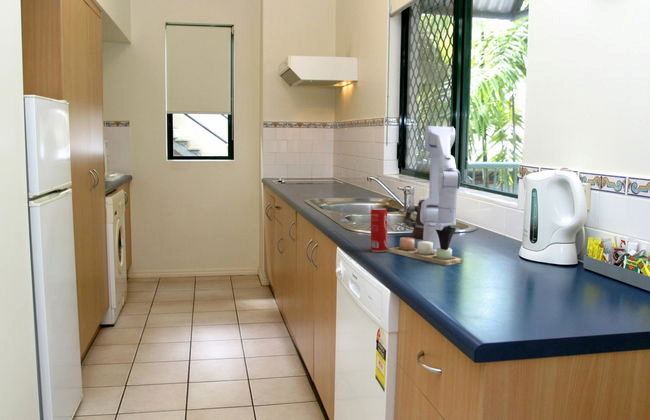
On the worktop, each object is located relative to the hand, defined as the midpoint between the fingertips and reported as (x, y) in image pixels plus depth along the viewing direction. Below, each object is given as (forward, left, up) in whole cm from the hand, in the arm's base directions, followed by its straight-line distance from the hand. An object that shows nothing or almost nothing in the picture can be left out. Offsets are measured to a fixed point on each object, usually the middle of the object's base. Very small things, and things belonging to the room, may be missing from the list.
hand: (444, 249), depth 201 cm
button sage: (0, 0, -3) cm, 3 cm away
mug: (-31, -35, -4) cm, 46 cm away
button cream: (0, -8, -3) cm, 8 cm away
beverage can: (+6, -24, -4) cm, 25 cm away
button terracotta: (0, -16, -2) cm, 16 cm away
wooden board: (0, -8, -4) cm, 9 cm away
